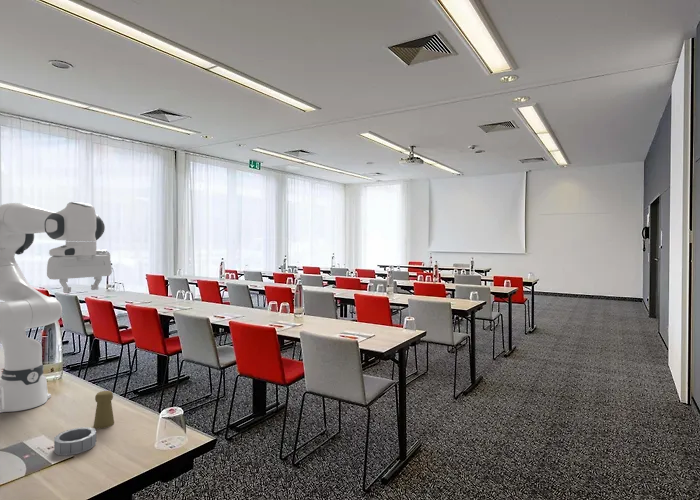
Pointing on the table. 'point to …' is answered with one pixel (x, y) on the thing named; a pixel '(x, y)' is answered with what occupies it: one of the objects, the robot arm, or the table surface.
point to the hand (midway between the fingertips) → (81, 291)
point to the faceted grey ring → (75, 441)
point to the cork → (104, 410)
